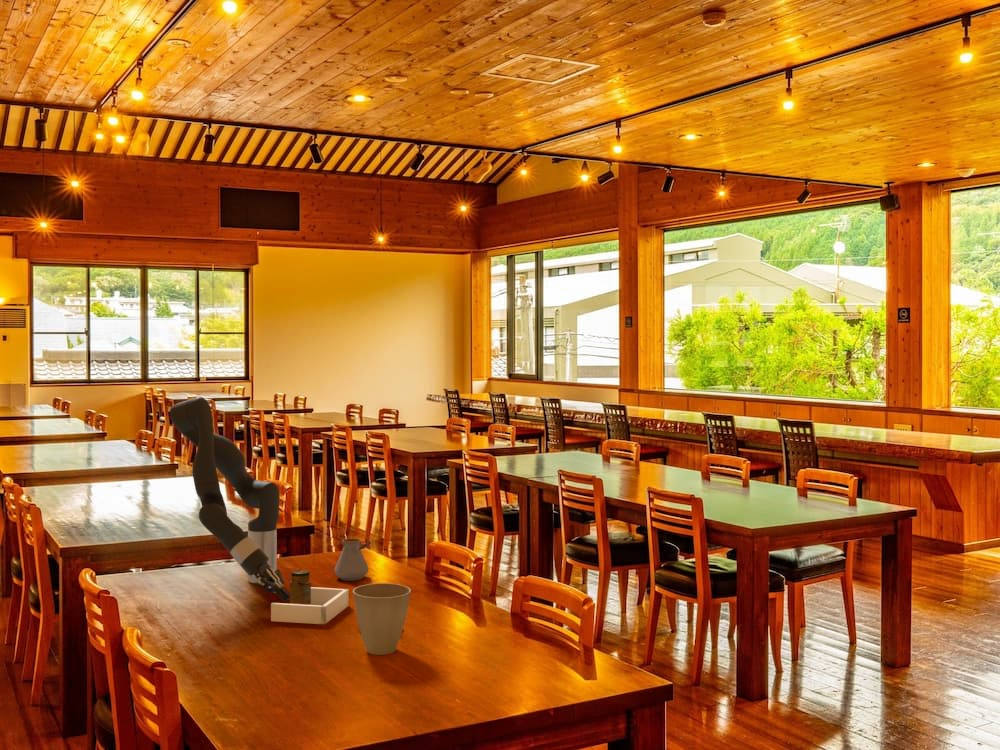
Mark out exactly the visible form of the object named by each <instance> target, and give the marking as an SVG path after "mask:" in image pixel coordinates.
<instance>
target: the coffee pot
mask: <svg viewBox="0 0 1000 750" xmlns="http://www.w3.org/2000/svg"><path fill="white" fill-rule="evenodd" d="M361 542H362V539H360V538H344V539H342V540H341V543H342V545H343V548H342V551H341V552H340V554H339V555H340V556H339V558H338V560H337V562H336V565H335V567H334V573H335V576H337V577H338V578H339V580H343V581H347V582H348V581H349V582H350V581H359V580H362V579H364V577H365V576H366V575H367V574H368V572H369V566H368V564H367V562H366V559H365V557H364V555H363V552H362V549H365V548H368V549H372V548H373V547H374V544H373V542H371V541H368V542H365V543H363V544H362V545H360V544H361ZM371 544H372V546H371V547H369V546H370V545H371Z"/></svg>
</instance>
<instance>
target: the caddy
mask: <svg viewBox="0 0 1000 750" xmlns="http://www.w3.org/2000/svg"><path fill="white" fill-rule="evenodd" d="M349 592H350V589H349V588H333V587H331V588H330V587H315V586H314V587H312V586H311V605H304V604H290V603H286V602H284V603H283V602H282V603H281V602H271V603H270V621H271V622H277V623H279V622H281V623H298V624H309V625H310V624H314V625H315V624H316V625H326V624H327V623H329V622H330V621H331V620H332V619H334V618H335V617H336V616H338V615H339V614H341V612H343V611H344V610H345V609H346V608H348V607H349V606H350V605H349V600H350V599H349V597H350V596H349V595H350V593H349Z"/></svg>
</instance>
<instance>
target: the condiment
mask: <svg viewBox="0 0 1000 750" xmlns="http://www.w3.org/2000/svg"><path fill="white" fill-rule="evenodd" d="M290 579H291V580H290V582H289V594H290V598H289V604H304V605H311V587H312V586H311V585H312V584H311V583H312V582H311V580H310V571H308V570H305V569H302V570H293V571H292V572H291V573H290Z"/></svg>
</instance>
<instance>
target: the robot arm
mask: <svg viewBox="0 0 1000 750" xmlns="http://www.w3.org/2000/svg"><path fill="white" fill-rule="evenodd" d="M169 417H170V421H171V423H172V424H173V426H174V427H175V429H176V430H178V432H179V433H180V434H181V435H183V436H184V438H186V439H188V441H189V442H190V443H192V444H193V445H194V446H195V447H197V450H196V453H195V455H194V460H193V462H192V470H191V471H192V479H193V483H194V489H195V492H196V495H197V497H198V498H199V499H200V504H201V506H202V507H201V508H200V509H199V512H198V519H199V521H200V523H201V525H203V527H205V529H207V531H209V533H211V534H212V535H213V536H214V537H215V538H217V540H219V542H220V543H221V544H222V546H223V547H224V548H225V549H226V551H228V552H229V554H230V555H231V556H232V557H233V559H234V561H235V562H236V563H237V564H238V566H240V567H241V568H242V569H243V570H244V572H245V573H246V574H247V575H248V576H247V577H248V582H249V583H252V584H256V585H257V587H259V588H261V589H263V590H265V591H267V593H268V592H269V593H270V594H272V593H273V594H276V595H277V596H278V597H279V598H280V599H281V600H282V601H283V602H284V603H286V602H287V601H288V600H290V592H288V591H287V589H285V587H284V584H285V581H284V578H283V577H284V576H282V572H281V570H280V569H278V565H277V563H278V562H277V561H278V555H277V551H278V549H277V548H278V546H277V545H278V543H277V539H278V538H277V534H278V533H277V529H278V528H277V525H278V524H277V523H278V522H279V518H280V500H281V499H280V497H281V494H280V489H279V486H278V484H276V483H275V482H272V481H266V480H257V479H255V478H254V477H253V476H252V475H250V473H249V472H248V471H247V469H246V458H245V455H244V454H243V452H242V451H241V449H240V448H239V447H238V446H237V445H236V444H235V443H234V442H233V441H232V440H231V439H229V438H227V437H225V436H223V435H222V434H221V435H220V434H217V433H215V432H214V416H213V412H212V408H211V405H210V403H209V401H208V400H207V399H206V398H204V397H202V396H197V397H194V398H190V399H187V400H185V401H180V402H178V403H175V404H173V405H172V406H171V408H170V410H169ZM217 471H218V472H219V473H221V475H222V476H223V477H224V478H225V479H226V481H228V483H229V484H230V485H231V486H232V487H233V489H234V490H235V491H236V494H238V496H239V498H240V499H241V501H242V502H243V503H244V504H245V505H246V506H247V507H249V508H252V509H258V516H257V517H256V518H252V519H250V520H249V521H248V524H247V532H245V531H244V530H243V529H242V527H240V526H239V525H238V524H236V523H235V522H233V521H232V519H231V518H230V517H229V516H228V512H227V511H228V510H227V507H226V503H225V500H224V496H223V495H222V491H221V486H220V481H219V480H220V479H219V476H218V472H217Z"/></svg>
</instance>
